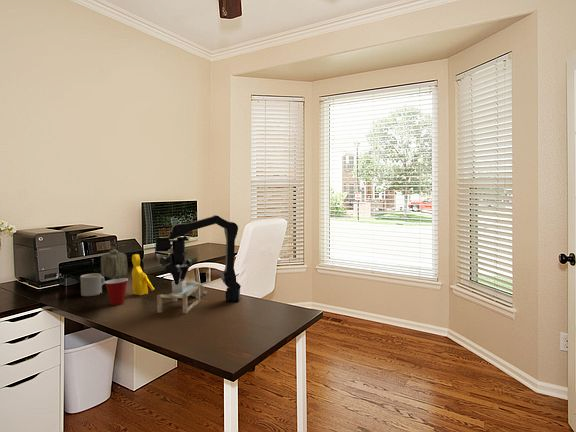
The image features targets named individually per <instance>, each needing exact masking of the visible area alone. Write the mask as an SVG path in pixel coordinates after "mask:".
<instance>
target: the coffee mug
mask: <svg viewBox="0 0 576 432" xmlns="http://www.w3.org/2000/svg"><path fill="white" fill-rule="evenodd" d="M105 281H106V280H105V276H103V275H102V274H101V273H96V272H95V273H87V274H82V275H80V296H82V297H91V296H92V297H93V296H98V295H101V294H102V293H103V286H104V285H105V283H104V282H105ZM100 293H101V294H100Z"/></svg>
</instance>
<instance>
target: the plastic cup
mask: <svg viewBox="0 0 576 432" xmlns="http://www.w3.org/2000/svg"><path fill="white" fill-rule="evenodd" d="M128 281H129V278H127V277H126V278H125V277H123V278H115V279H113V280H111V279H108V280H105V282H104V285H105V288H106V291H107V295H108V299H109V304H110V305H111V306H113V305H115V306H120V305H123V304H124V303H125V298H126V292H127V291H126V290H127V285H128Z"/></svg>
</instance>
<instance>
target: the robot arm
mask: <svg viewBox="0 0 576 432" xmlns="http://www.w3.org/2000/svg"><path fill="white" fill-rule="evenodd" d="M212 225H217V226H219V227H221V228H223V229H224V230H223V231H224V235H225V236H224V237H225V240H226V241H225V244H226V245H225V267H224V269H223V270H221V272H220V273H221V278H220V279H221V281H222V282H223V284H224V285H225V286H226V291H225V302H226V303H239V302H240V301H241V299H242V297H241V287H242V285H241V284H240V283H239V282H237V278H236V277H237V276H236V271H235V250H236V249H235V248H236V247H235V244H236V243H235V242H236V238H237V235H238V230H239V226H238V224H237V223H236V222H233V221H228V220H226V219H224V218H222V217H221V216H219V215H215V214H214V215H212V216H209V217H206V218H202V219H198V220H194V221H191V222H183V223H175V224H173V225H172V227H171V228H170V229H171V231H170V232H169V234H168V236H163V237H162V236H159V237H158V236H156V237H155V253H159V252H163V253H164V252H169V251H170V250H171V249H172V250H171V251H172V252H171V253H170V254H169V256H167V257H166V256H162V257H160V258H159V265H161V267H164V266H165V267H164V272H165V273H169V274H170V275H171V276H172V278H173V281H174V282H175V284H176V285H178V283H179V280H180V279H186V275H187V273H188V271H189V269H190V268H191V265H193V260H192V259H191V258H186V255H187V254H188V253H187V251H186V244H185V243H186V242H188V241H189V240H190V239H189V238H188V237H187V234H189V233H190V232H192V231H196V230H199V229H202V228H206V227H210V226H212Z"/></svg>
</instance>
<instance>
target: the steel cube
mask: <svg viewBox="0 0 576 432" xmlns="http://www.w3.org/2000/svg"><path fill="white" fill-rule="evenodd" d="M186 284H187V279H186V278H184V279H180V280H179V283H178V285H176V284H175V282H174V280H172V281H171V293H172V292H183V291H185V290H186V289H187V286H186Z"/></svg>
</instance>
